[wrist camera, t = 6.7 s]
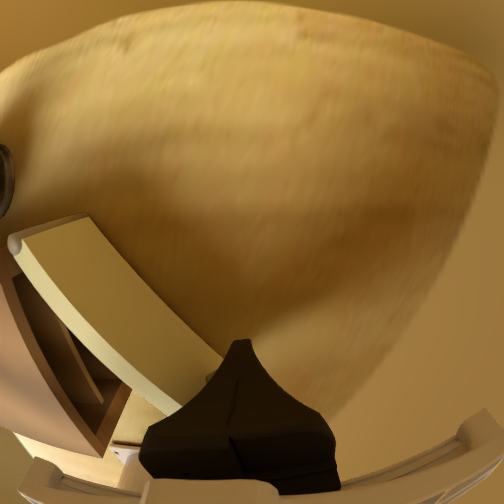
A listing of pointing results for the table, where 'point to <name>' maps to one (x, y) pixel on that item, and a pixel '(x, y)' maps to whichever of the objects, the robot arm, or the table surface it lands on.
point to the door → (114, 311)
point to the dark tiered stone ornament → (6, 179)
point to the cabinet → (51, 373)
